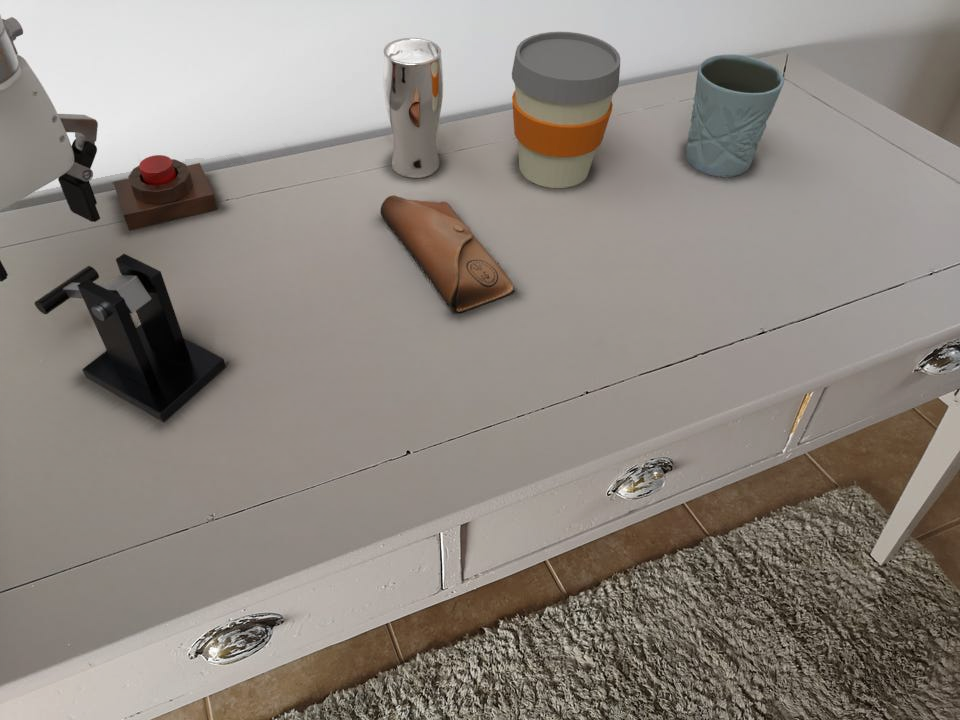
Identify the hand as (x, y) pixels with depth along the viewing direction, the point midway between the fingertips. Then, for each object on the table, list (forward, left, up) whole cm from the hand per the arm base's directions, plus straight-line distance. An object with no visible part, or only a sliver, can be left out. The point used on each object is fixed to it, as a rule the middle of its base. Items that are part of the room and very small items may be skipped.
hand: (41, 243), depth 69 cm
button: (-3, +21, -7) cm, 23 cm away
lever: (+6, -2, -4) cm, 7 cm away
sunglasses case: (+31, +22, -11) cm, 40 cm away
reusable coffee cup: (+39, +43, -11) cm, 59 cm away
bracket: (+10, -3, -11) cm, 15 cm away
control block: (-3, +21, -11) cm, 24 cm away
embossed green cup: (+59, +52, -11) cm, 79 cm away
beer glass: (+22, +38, -11) cm, 45 cm away
